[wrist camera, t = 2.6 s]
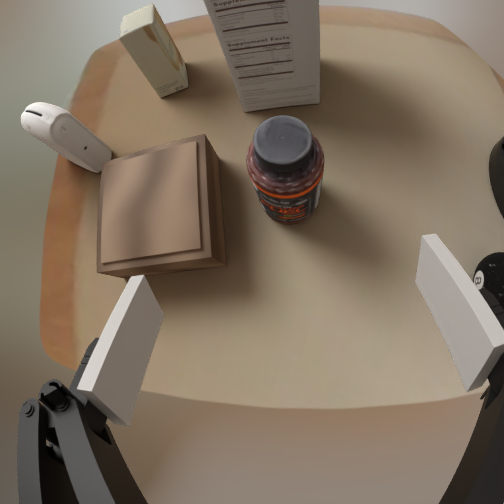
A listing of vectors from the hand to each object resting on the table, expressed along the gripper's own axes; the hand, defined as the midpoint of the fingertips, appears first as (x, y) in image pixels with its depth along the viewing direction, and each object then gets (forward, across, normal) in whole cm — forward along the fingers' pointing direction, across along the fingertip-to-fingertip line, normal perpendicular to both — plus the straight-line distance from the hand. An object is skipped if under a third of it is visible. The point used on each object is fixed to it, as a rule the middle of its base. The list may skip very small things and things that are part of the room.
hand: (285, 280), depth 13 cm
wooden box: (+17, -12, -4) cm, 21 cm away
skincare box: (+32, -12, +11) cm, 36 cm away
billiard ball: (+9, +21, -12) cm, 26 cm away
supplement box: (+29, +2, +8) cm, 30 cm away
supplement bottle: (+17, +1, -4) cm, 18 cm away
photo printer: (+26, -25, +5) cm, 36 cm away
